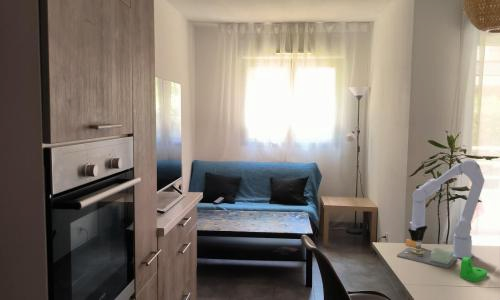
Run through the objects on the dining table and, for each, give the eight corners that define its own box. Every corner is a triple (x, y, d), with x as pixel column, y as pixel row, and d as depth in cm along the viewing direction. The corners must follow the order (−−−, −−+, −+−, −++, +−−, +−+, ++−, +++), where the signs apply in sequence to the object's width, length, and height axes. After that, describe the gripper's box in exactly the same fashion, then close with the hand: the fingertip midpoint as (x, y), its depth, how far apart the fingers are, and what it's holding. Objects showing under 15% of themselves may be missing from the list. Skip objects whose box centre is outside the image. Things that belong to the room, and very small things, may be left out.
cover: (436, 255, 196) (436, 247, 195) (452, 258, 191) (453, 250, 191) (430, 260, 189) (430, 252, 188) (447, 264, 184) (448, 255, 184)
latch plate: (407, 249, 207) (408, 246, 207) (456, 259, 194) (457, 256, 194) (396, 257, 196) (396, 254, 195) (448, 268, 182) (448, 265, 182)
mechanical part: (475, 282, 168) (477, 262, 167) (460, 278, 172) (461, 258, 172) (489, 275, 175) (490, 256, 175) (474, 271, 180) (475, 252, 179)
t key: (406, 248, 204) (407, 238, 204) (421, 251, 200) (422, 241, 200) (405, 249, 202) (405, 239, 202) (419, 252, 198) (420, 242, 198)
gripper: (414, 210, 215) (413, 237, 217) (405, 215, 204) (403, 243, 205) (429, 212, 211) (428, 240, 212) (420, 217, 200) (419, 246, 201)
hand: (417, 242), depth 208 cm, fingers open, 7 cm apart
